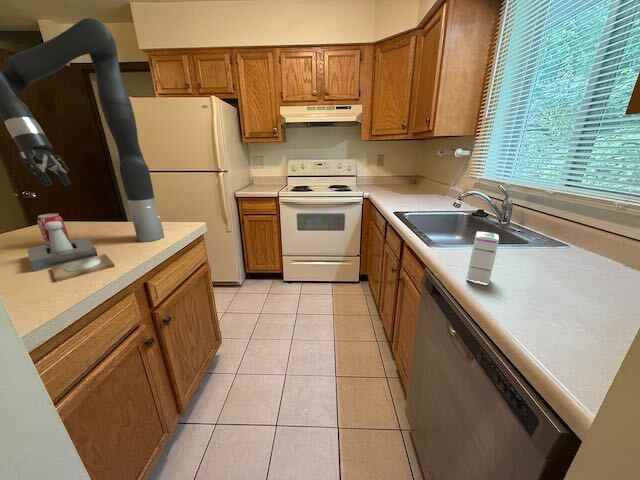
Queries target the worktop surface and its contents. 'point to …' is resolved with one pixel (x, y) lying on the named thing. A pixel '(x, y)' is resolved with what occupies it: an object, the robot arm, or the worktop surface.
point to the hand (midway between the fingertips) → (58, 184)
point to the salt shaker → (57, 237)
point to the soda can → (45, 219)
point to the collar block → (60, 254)
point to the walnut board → (81, 267)
